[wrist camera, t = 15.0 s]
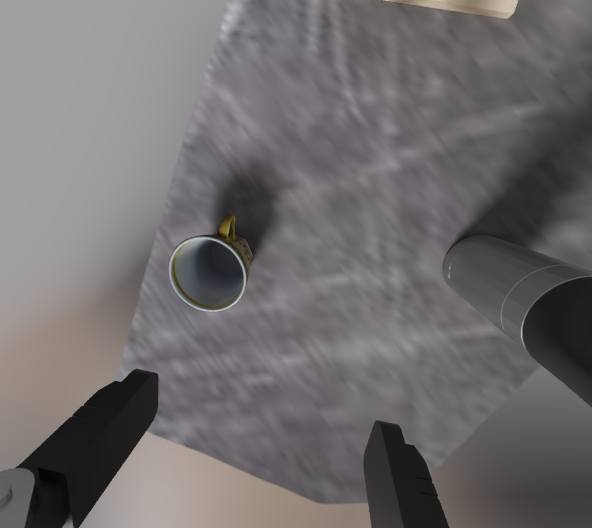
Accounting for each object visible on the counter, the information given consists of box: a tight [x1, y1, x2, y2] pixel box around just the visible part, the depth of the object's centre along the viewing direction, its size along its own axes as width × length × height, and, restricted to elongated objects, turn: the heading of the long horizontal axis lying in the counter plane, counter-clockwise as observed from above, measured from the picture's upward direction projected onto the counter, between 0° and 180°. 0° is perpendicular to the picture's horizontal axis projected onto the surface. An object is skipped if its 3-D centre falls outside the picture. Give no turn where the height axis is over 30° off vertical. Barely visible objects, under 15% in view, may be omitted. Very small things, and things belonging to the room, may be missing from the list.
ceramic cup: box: [168, 214, 253, 312], centre depth 38 cm, size 13×10×10 cm
